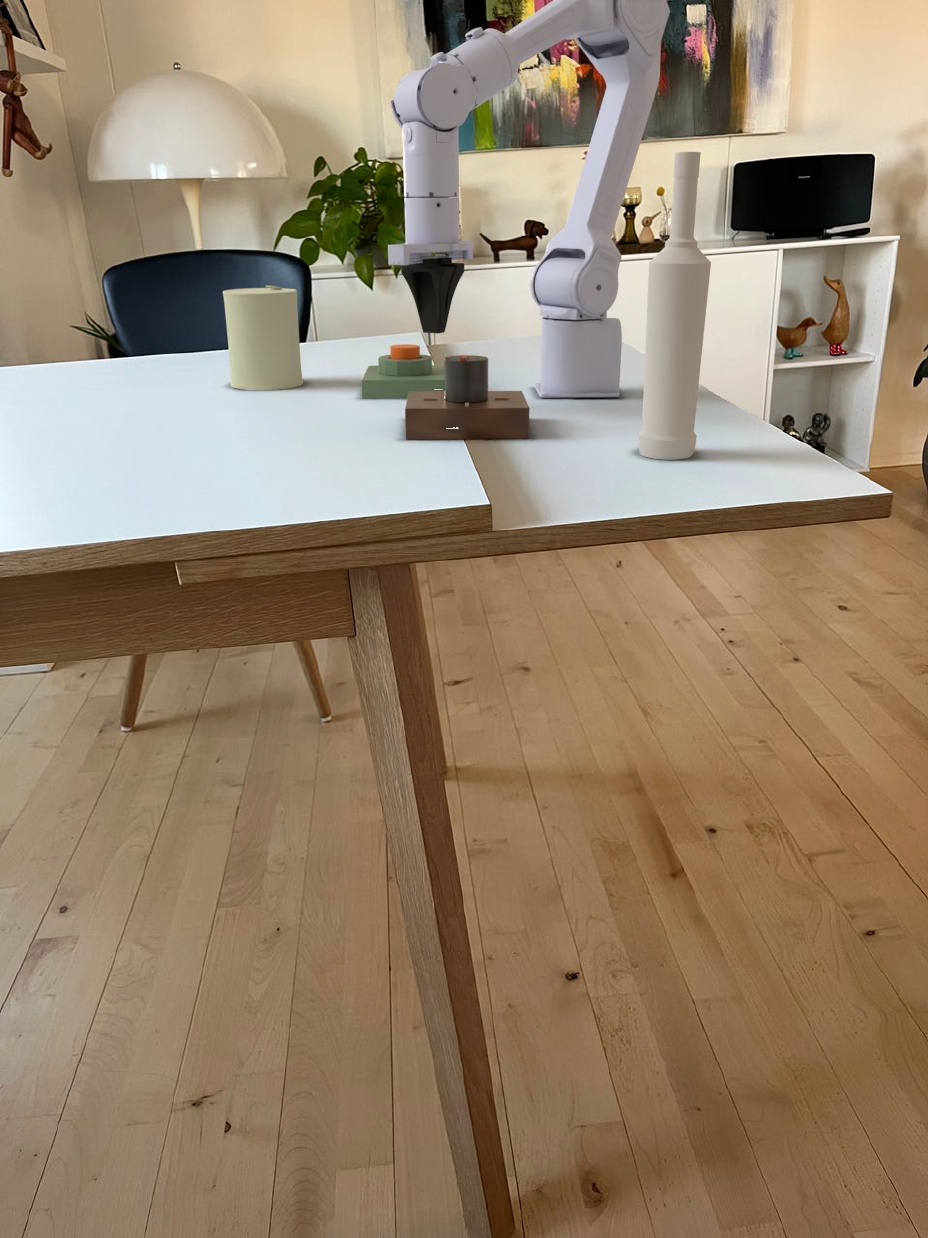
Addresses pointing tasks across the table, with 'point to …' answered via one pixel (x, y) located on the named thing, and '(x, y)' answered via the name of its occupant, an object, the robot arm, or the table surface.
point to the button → (405, 352)
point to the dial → (466, 378)
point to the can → (263, 338)
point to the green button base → (401, 377)
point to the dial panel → (467, 416)
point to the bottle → (675, 326)
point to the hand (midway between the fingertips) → (433, 332)
